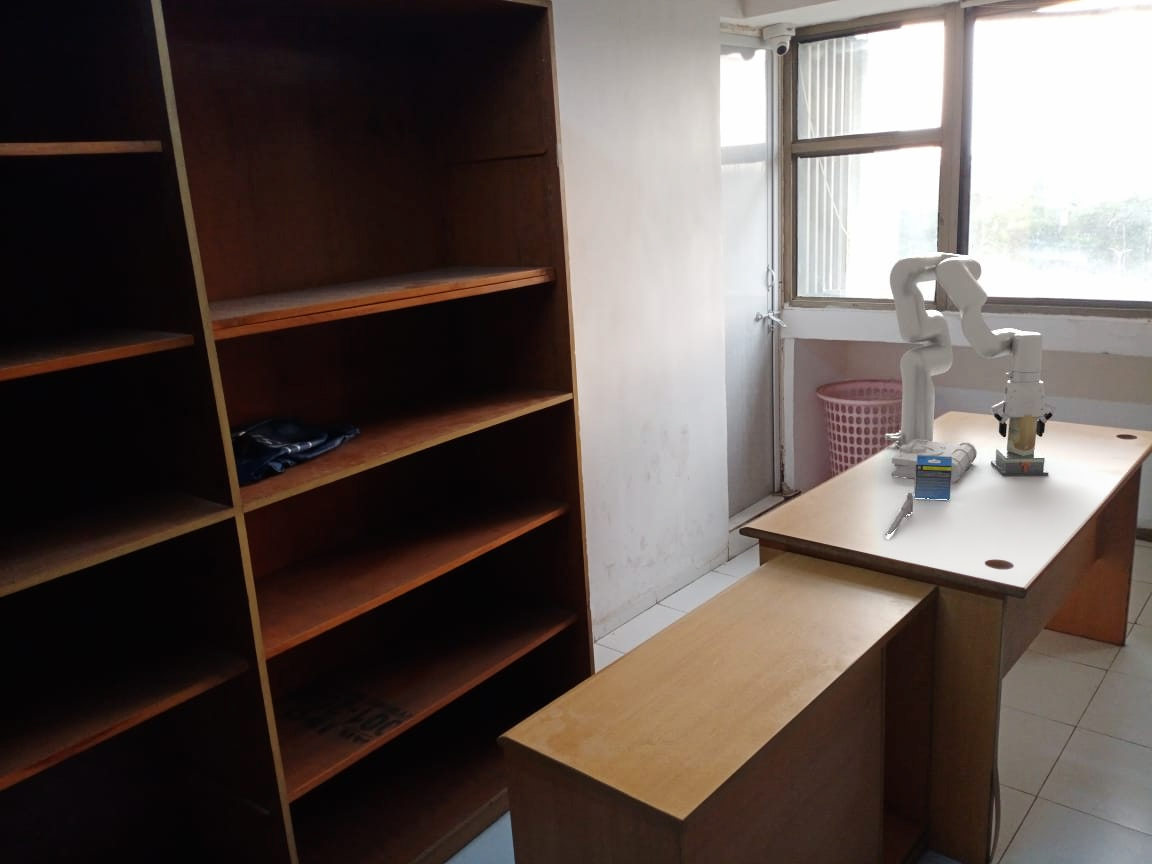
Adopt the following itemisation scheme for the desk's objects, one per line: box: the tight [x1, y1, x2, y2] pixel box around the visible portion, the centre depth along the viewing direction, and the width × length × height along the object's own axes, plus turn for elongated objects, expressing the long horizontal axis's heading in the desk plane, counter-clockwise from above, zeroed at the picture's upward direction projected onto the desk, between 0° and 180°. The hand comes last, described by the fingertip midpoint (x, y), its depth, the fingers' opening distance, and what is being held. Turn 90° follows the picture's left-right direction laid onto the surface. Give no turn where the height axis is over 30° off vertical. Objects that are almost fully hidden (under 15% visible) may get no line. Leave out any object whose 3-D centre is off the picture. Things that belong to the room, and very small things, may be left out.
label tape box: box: [913, 455, 952, 500], centre depth 244 cm, size 9×4×12 cm, turn 72°
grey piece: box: [990, 447, 1049, 477], centre depth 265 cm, size 12×12×5 cm
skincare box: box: [1006, 414, 1039, 456], centre depth 263 cm, size 6×4×12 cm
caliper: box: [886, 492, 914, 534], centre depth 227 cm, size 20×1×6 cm, turn 145°
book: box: [890, 439, 977, 484], centre depth 271 cm, size 19×28×8 cm
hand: (1021, 435), depth 263 cm, fingers open, 9 cm apart
